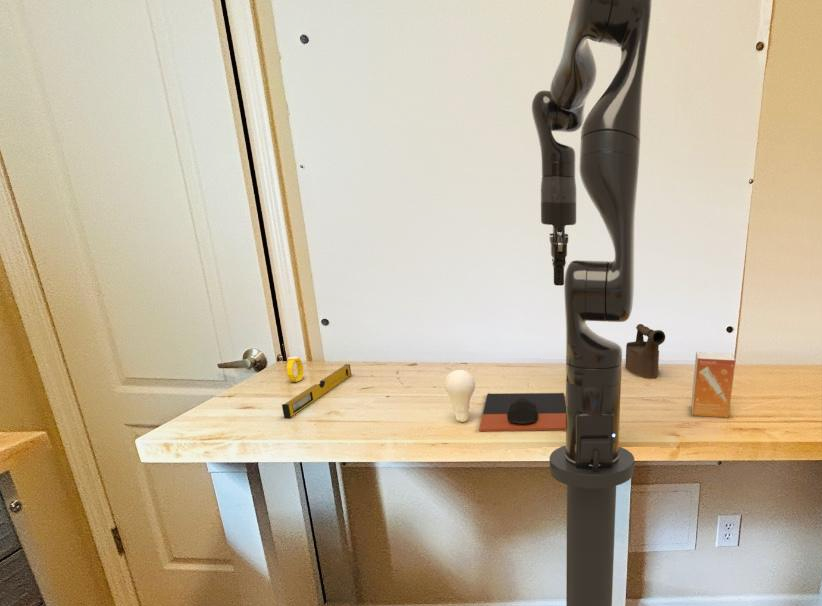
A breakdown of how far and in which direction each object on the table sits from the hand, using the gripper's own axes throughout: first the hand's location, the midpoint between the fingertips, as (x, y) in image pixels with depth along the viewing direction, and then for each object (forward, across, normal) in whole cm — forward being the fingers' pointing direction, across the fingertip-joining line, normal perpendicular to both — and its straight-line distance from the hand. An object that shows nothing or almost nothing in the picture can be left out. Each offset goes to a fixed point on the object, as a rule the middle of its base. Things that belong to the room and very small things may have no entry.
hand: (558, 284), depth 134 cm
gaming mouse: (+25, -15, +8) cm, 31 cm away
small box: (+26, -14, -33) cm, 44 cm away
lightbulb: (+26, -17, +21) cm, 37 cm away
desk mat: (+26, -11, +8) cm, 29 cm away
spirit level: (+26, +4, +55) cm, 61 cm away
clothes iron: (+26, +20, -24) cm, 41 cm away
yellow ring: (+26, +16, +65) cm, 71 cm away
